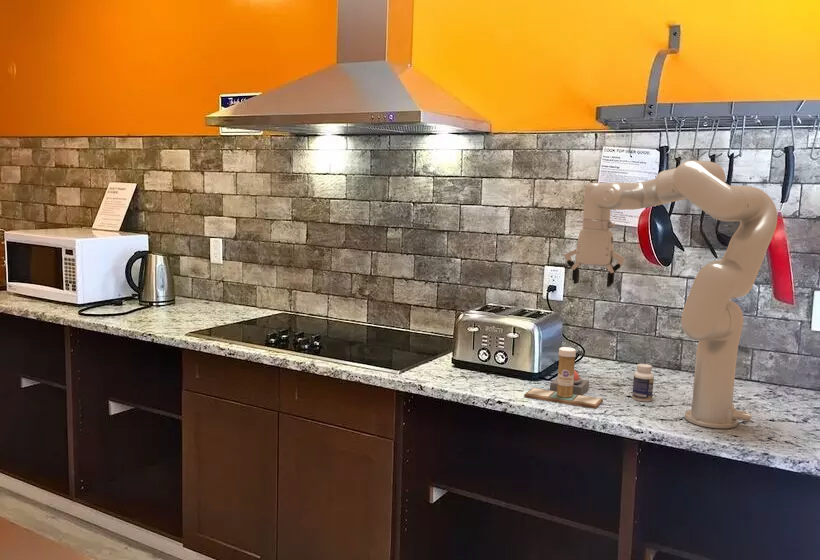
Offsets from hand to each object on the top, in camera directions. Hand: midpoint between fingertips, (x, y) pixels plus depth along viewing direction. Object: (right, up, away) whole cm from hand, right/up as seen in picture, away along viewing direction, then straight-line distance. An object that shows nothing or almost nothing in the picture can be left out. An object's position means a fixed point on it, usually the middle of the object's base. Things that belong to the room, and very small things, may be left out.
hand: (592, 284), depth 219 cm
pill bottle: (+12, -32, -8) cm, 35 cm away
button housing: (-7, -31, -1) cm, 31 cm away
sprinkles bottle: (-10, -31, -11) cm, 34 cm away
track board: (-11, -32, -11) cm, 35 cm away
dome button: (-7, -30, -1) cm, 31 cm away
